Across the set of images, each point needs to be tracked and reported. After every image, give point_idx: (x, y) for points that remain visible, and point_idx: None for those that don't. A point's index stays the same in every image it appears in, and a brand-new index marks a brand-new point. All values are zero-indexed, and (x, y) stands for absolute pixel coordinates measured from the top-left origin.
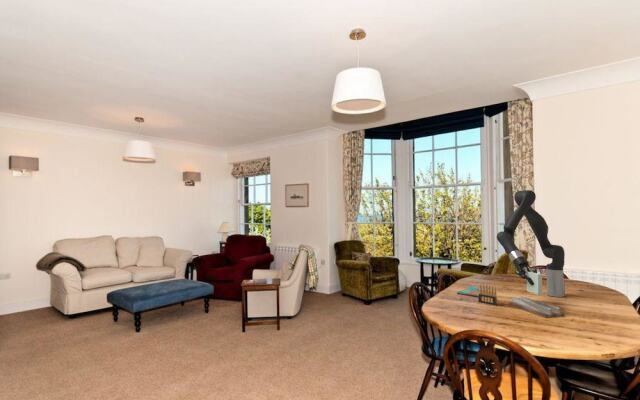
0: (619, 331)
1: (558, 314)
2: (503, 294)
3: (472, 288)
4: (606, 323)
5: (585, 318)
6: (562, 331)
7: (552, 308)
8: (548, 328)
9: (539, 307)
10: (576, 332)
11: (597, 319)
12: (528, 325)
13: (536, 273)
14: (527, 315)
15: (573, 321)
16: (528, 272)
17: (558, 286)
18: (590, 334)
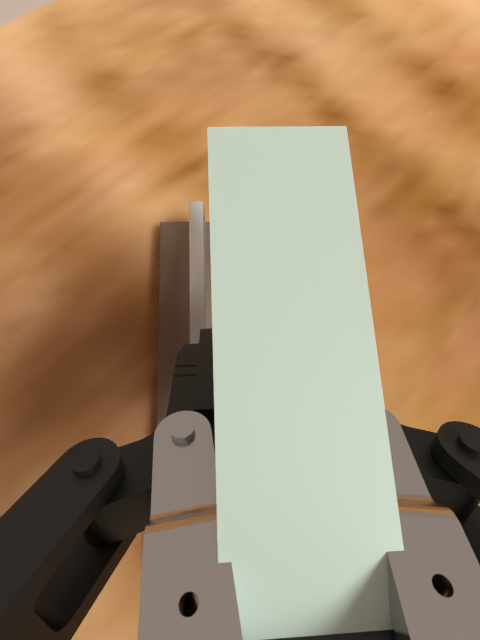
0: (131, 8)
1: (206, 224)
2: None
3: None
4: (68, 89)
5: (88, 171)
6: (375, 63)
7: (204, 255)
8: (408, 104)
9: None
10: (325, 42)
11: (42, 144)
12: (474, 155)
13: (250, 281)
14: (370, 291)
15: (202, 149)
16: (399, 518)
17: None
18: (288, 14)
